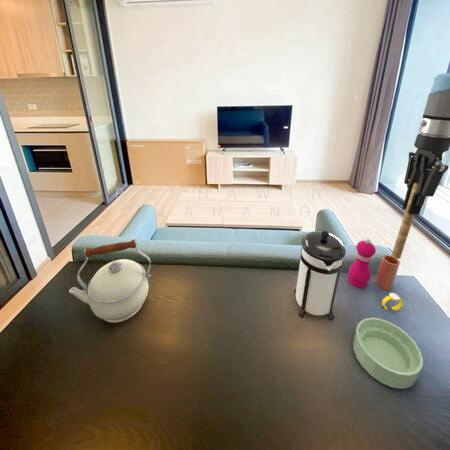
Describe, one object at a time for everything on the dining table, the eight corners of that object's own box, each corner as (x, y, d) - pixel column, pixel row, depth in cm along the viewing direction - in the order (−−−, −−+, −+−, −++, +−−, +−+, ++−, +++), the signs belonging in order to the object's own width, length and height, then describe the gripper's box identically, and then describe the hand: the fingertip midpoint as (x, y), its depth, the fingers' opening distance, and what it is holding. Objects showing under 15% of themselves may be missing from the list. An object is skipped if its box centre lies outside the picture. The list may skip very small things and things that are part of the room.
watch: (396, 306, 84) (401, 293, 82) (401, 313, 81) (406, 300, 79) (379, 305, 84) (383, 292, 82) (383, 312, 82) (387, 299, 80)
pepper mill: (350, 288, 91) (360, 244, 84) (344, 274, 98) (354, 232, 90) (371, 291, 90) (383, 246, 83) (363, 276, 96) (375, 234, 89)
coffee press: (346, 308, 83) (365, 234, 72) (317, 333, 75) (333, 254, 64) (305, 276, 96) (315, 209, 86) (276, 295, 88) (284, 223, 77)
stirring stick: (396, 253, 81) (418, 182, 72) (402, 258, 79) (426, 185, 70) (389, 254, 81) (411, 182, 72) (395, 259, 79) (419, 185, 70)
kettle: (153, 277, 96) (146, 223, 87) (156, 318, 79) (148, 256, 70) (82, 294, 88) (66, 236, 79) (69, 342, 72) (48, 276, 63)
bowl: (383, 327, 77) (388, 313, 75) (431, 382, 63) (438, 367, 61) (341, 337, 74) (344, 323, 72) (380, 397, 60) (386, 381, 58)
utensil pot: (383, 279, 95) (391, 254, 91) (395, 289, 91) (403, 263, 86) (372, 281, 94) (379, 256, 90) (383, 291, 90) (391, 265, 85)
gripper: (404, 128, 73) (385, 198, 82) (439, 141, 59) (411, 224, 67) (431, 129, 72) (409, 200, 81) (473, 142, 58) (441, 226, 66)
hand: (410, 211), depth 74 cm, fingers closed on stirring stick, 2 cm apart
